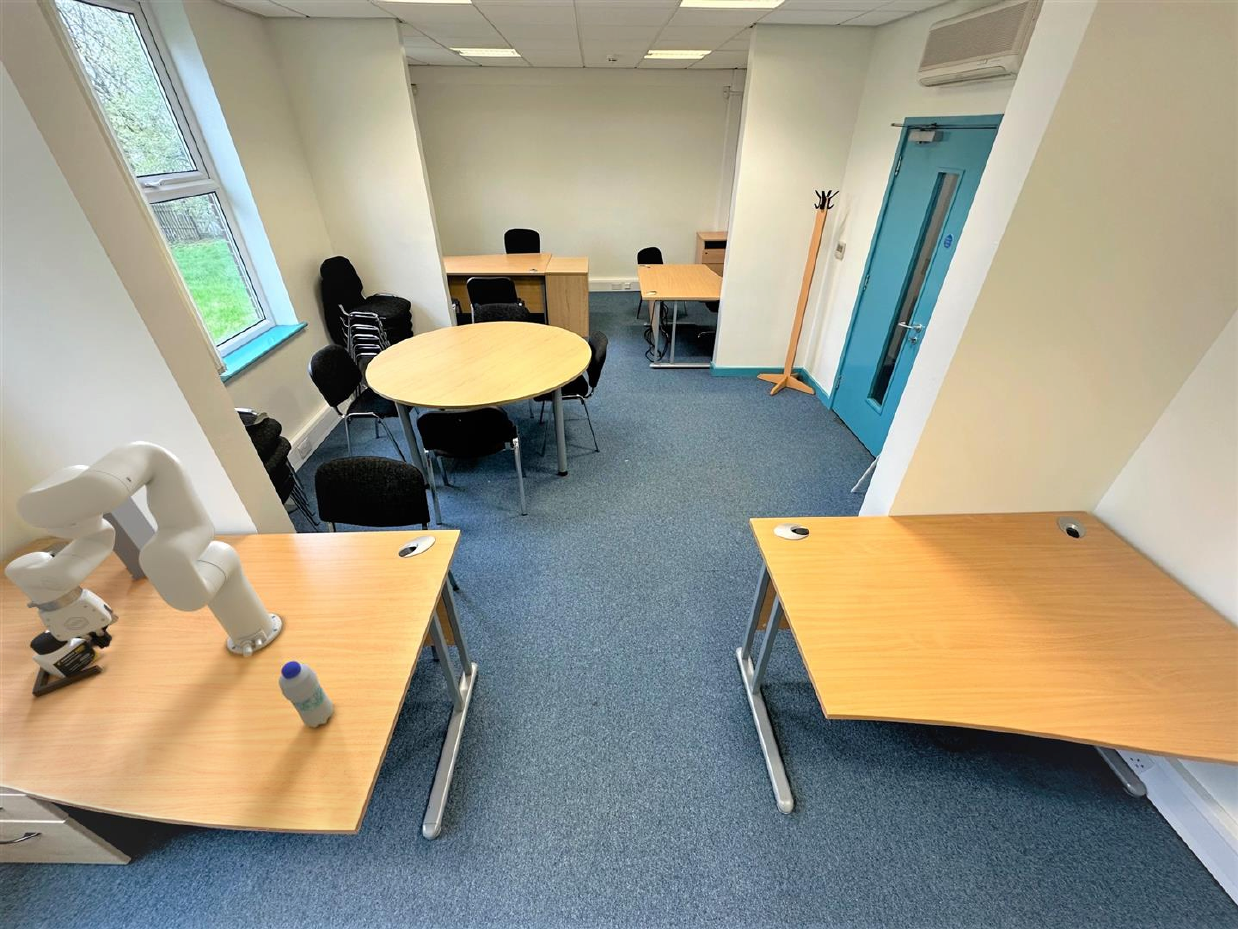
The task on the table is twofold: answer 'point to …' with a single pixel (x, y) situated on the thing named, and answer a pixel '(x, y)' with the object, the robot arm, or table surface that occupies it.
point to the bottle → (305, 693)
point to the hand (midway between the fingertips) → (106, 643)
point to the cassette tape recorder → (130, 535)
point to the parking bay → (43, 676)
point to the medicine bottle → (62, 654)
